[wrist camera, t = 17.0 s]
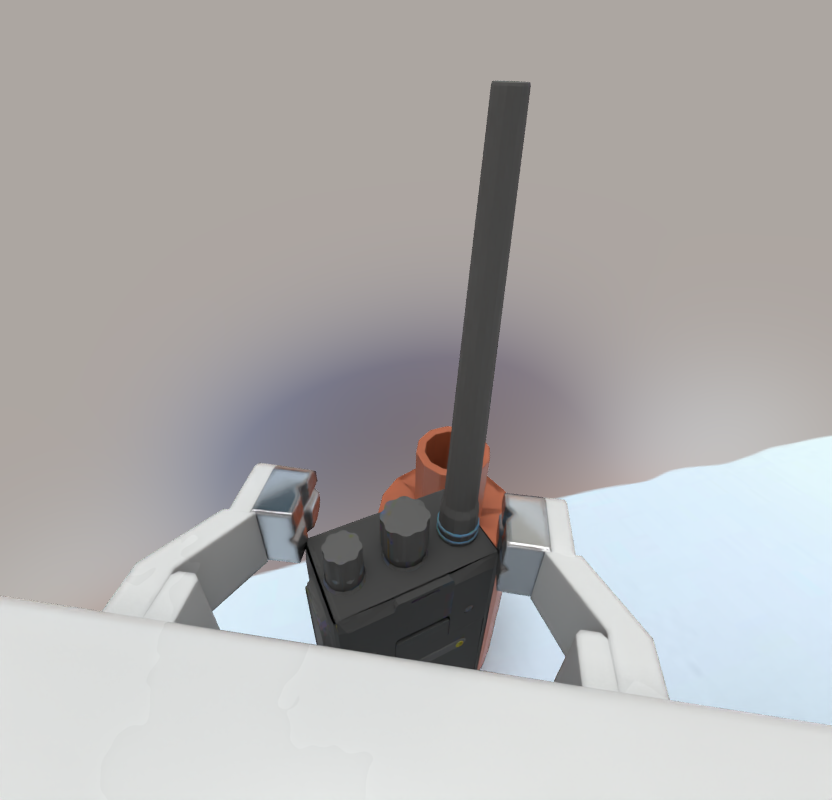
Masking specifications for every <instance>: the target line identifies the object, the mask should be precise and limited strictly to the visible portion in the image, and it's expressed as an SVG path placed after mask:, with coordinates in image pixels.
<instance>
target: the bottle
mask: <svg viewBox="0 0 832 800" xmlns="http://www.w3.org/2000/svg"><path fill="white" fill-rule="evenodd" d="M451 430H452V427H449V426H447V427H442V428H438V429H434V430H431V431H429V432H428V433H427V434H425V435H424V436H423V437H422V438H421V439H420V440H419V442H418V447H417V452H416V469H414V470H412V471H410V472H408V473H406V474H404V475H402V476H401V477H399V478H397V479H396V480H395V481H394V482H393V484H392V485H391V486H390V487H389V488H388V489H387V491H386V492H385V493H384V494H383V497H382V500H381V504H380V508H379V512H382V511H383V510H384V505H385V504H386V502H388V501H390V500H395V499H397V498H399V497H401V496H408V497H410V498H412V499H418V498H421V497H423V496H426V495H429V494H432V493H434V492H437V491H440V490H443V489H445V482H446V473H447V464H448V456H449V447H450V438H451ZM489 461H490V448H489V446H488V445H487V444H486V442H485V450H484V458H483V466H482V474H481V481H480V489H479V497H478V501H479V516H478V517H479V525H480V526H481V528H482V529H483V530H484V532H485V533H486V534H487V536H488V537H489V538H490V540H491V541H492V542H493V544H494V545H495V546H496V534H497V525H498V519H499V515H500V514H501V513H502V499H503V496H504V493H506V492H505V491H504V490H503V489H502V488H501V487H499V486H498V485H497V484H496V483H495V482H494V481H492V480H491V479H490V478H489V477H488V476H487V473H488V467H489ZM379 512H378V513H379ZM501 595H502V592H501V591H496V578H495V583H494V588H493V593H492V598H491V603H490V608H489V613H488V618H487V623H486V628H485V633H484V638H483V643H482V648H481V653H480V658H479V663H478V668H477V670H480V668H481V666H482V664H483V662H484V660H485V657H486V654H487V652H488V649H489V645H490V641H491V636H492V632H493V628H494V624H495V620H496V616H497V612H498V607H499V603H500V599H501Z"/></svg>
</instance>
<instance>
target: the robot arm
mask: <svg viewBox="0 0 832 800" xmlns="http://www.w3.org/2000/svg"><path fill="white" fill-rule="evenodd" d="M316 482H317V477H316V471H313V470H308V469H300V468H294V467H287V466H280V465H271V464H264V463H259V464H257V465H256V466H255V467H254V468H253V470H252V472H251V473H250V475H249V477H248V478H247V480H246V482H245V484H244V485H243V487H242V488H241V490H240V492H239V493H238V495H237V497H236V498H235V500H234V502H233V503H232V505H231V507H230V509H229V510H228V509H223V510H221V511H219V512H218V513H216V514H215V515H213V516H211V517H210V518H208V519H207V520H205V521H203V522H202V523H200V524H199V525H197V526H195V527H194V528H192V529H191V530H189V531H187V532H186V533H184V534H182V535H181V536H179V537H178V538H176V539H174V540H173V541H171V542H169V543H168V544H166V545H165V546H163V547H162V548H160V549H159V550H157V551H155V552H153V553H152V554H150V555H149V556H147V557H145V558H144V559H142V560H140V561H139V562H137V563H136V564H135V566H134V567H133V568H132V570H131V571H130V573H129V574H128V575H127V577H126V578H125V580H124V581H123V582H122V584H121V585H120V587H119V588H118V589H117V591H116V592H115V594H114V595H113V596H112V598H111V599H110V601H109V602H108V603H107V605H106V606H105V608H104V609H103V610H102V611H96V610H90V609H83V608H77V607H71V606H64V605H58V604H52V603H45V602H39V601H32V600H26V599H20V598H14V597H7V596H1V595H0V800H832V725H826V724H820V723H813V722H807V721H800V720H794V719H788V718H781V717H775V716H768V715H762V714H756V713H749V712H743V711H736V710H730V709H724V708H717V707H711V706H704V705H698V704H692V703H685V702H679V701H672V700H670V699H669V695H668V692H667V688H666V684H665V681H664V677H663V673H662V670H661V666H660V662H659V659H658V655H657V651H656V648H655V644H654V640H653V638H652V637H651V636H650V635H649V634H648V632H647V631H646V630H645V629H644V628H643V627H642V625H641V624H640V623H639V622H638V621H637V620H636V618H635V617H634V616H633V615H632V614H631V613H630V611H629V610H628V609H627V608H626V607H625V606H624V604H623V603H622V602H621V601H620V600H619V599H618V598H617V596H616V595H615V594H614V593H613V592H612V591H611V589H610V588H609V587H608V586H607V585H606V584H605V582H604V581H603V580H602V579H601V578H600V577H599V575H598V574H597V573H596V572H595V571H594V570H593V568H592V567H591V566H590V565H589V564H588V563H587V562H586V560H585V559H584V558H583V557H582V556H578V555H576V554H575V548H574V542H573V536H572V530H571V524H570V518H569V512H568V506H567V503H566V501H565V500H561V499H553V498H543V497H536V496H527V495H518V494H508V493H504V496H503V499H502V513H501V514H500V515H499V519H498V525H497V534H496V550H497V551H498V560H497V565H496V591H501V592H507V593H513V594H519V595H525V596H531V600H532V601H533V603H534V605H535V606H536V608H537V610H538V611H539V613H540V615H541V617H542V618H543V620H544V622H545V623H546V625H547V627H548V628H549V630H550V632H551V633H552V635H553V637H554V638H555V640H556V642H557V643H558V645H559V647H560V648H561V650H562V652H563V653H564V655H565V659H564V661H563V663H562V665H561V668H560V670H559V672H558V674H557V676H556V678H555V680H554V682H551V681H544V680H538V679H531V678H525V677H519V676H512V675H506V674H500V673H493V672H487V671H480V670H474V669H468V668H461V667H455V666H448V665H442V664H436V663H429V662H423V661H417V660H410V659H404V658H397V657H391V656H385V655H378V654H372V653H365V652H359V651H352V650H346V649H340V648H333V647H327V646H320V645H314V644H307V643H301V642H294V641H288V640H282V639H275V638H269V637H262V636H256V635H250V634H243V633H237V632H230V631H224V630H220V628H219V626H218V624H217V622H216V619H215V617H214V615H213V612H212V611H213V610H214V609H215V608H216V607H218V606H219V605H220V604H221V603H222V602H223V601H224V600H225V599H227V598H228V597H229V596H230V595H231V594H232V593H233V592H234V591H235V590H237V589H238V588H239V587H240V586H241V585H242V584H243V583H244V582H246V581H247V580H248V579H249V578H250V577H251V576H252V575H253V574H254V573H256V572H257V571H258V570H259V569H260V568H261V567H262V566H263V565H264V564H266V562H268V560H277V561H286V562H295V563H300V562H301V559H302V556H303V554H304V551H305V549H306V546H307V540H308V535H307V532H308V531H309V530H311V529H312V528H313V527H314V526H315V523H316V520H317V517H318V512H319V507H320V497H319V492H318V491H317V490H316V489H315V488H314V487H315V485H316Z"/></svg>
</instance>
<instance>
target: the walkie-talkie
mask: <svg viewBox="0 0 832 800" xmlns="http://www.w3.org/2000/svg"><path fill="white" fill-rule="evenodd" d="M530 87H531V86H530V82H519V81H492V84H491V90H490V100H489V108H488V117H487V125H486V134H485V143H484V151H483V160H482V169H481V177H480V186H479V195H478V204H477V213H476V221H475V230H474V238H473V247H472V256H471V264H470V273H469V283H468V291H467V299H466V308H465V318H464V326H463V335H462V343H461V351H460V360H459V369H458V378H457V387H456V395H455V403H454V413H453V421H452V430H451V438H450V447H449V456H448V464H447V473H446V482H445V489H443V490H440V491H437V492H434V493H432V494H429V495H426V496H423V497H421V498H418V499H412V498H410V497H408V496H401V497H399V498H397V499H395V500H390V501H388V502H386V504H385V505H384V510H383V511H382V512H379V513H377V514H374V515H371V516H368V517H366V518H363V519H360V520H358V521H355V522H352V523H349V524H346V525H344V526H341V527H338V528H335V529H333V530H330V531H327V532H325V533H322V534H319V535H317V536H313V537H310V538H308V540H307V546H306V563H307V569H308V574H309V582H308V583H307V586H306V587H305V588H306V594H307V599H308V604H309V609H310V614H311V619H312V624H313V629H314V633H315V638H316V643H317V645H320V646H327V647H333V648H340V649H346V650H352V651H359V652H365V653H372V654H378V655H385V656H391V657H397V658H404V659H410V660H417V661H423V662H429V663H436V664H442V665H448V666H455V667H461V668H468V669H474V670H477V668H478V663H479V658H480V653H481V648H482V643H483V638H484V633H485V628H486V623H487V618H488V613H489V608H490V603H491V598H492V593H493V588H494V583H495V578H496V565H497V560H498V551H497V550H496V546H495V545H494V544H493V542H492V541H491V540H490V538H489V537H488V536H487V534H486V533H485V532H484V530H483V529H482V528H481V526H480V525H479V517H478V516H479V501H478V497H479V489H480V481H481V474H482V466H483V458H484V450H485V442H486V434H487V426H488V418H489V409H490V403H491V394H492V387H493V379H494V371H495V363H496V354H497V347H498V339H499V332H500V324H501V316H502V308H503V300H504V291H505V284H506V276H507V268H508V259H509V253H510V245H511V236H512V229H513V221H514V213H515V205H516V197H517V190H518V181H519V174H520V166H521V158H522V150H523V142H524V134H525V127H526V118H527V111H528V103H529V95H530Z"/></svg>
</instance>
